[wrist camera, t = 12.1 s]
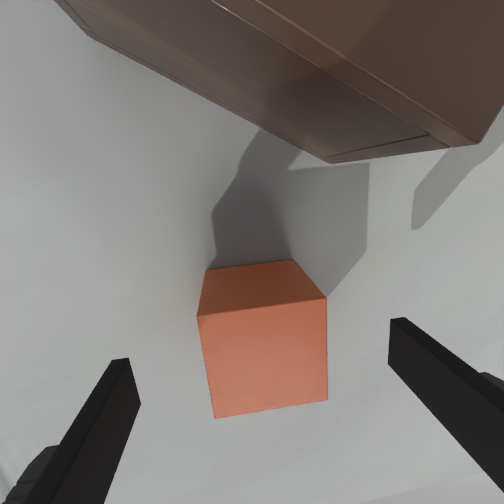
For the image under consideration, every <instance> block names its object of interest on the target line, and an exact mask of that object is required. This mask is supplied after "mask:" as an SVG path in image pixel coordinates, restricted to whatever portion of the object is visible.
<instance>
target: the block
mask: <svg viewBox="0 0 504 504" xmlns="http://www.w3.org/2000/svg"><path fill="white" fill-rule="evenodd" d="M197 321H198V327H199V332H200V338H201V344H202V350H203V355H204V361H205V367H206V372H207V378H208V384H209V390H210V395H211V401H212V407H213V413H214V418H215V419H217V418H223V417H229V416H235V415H241V414H247V413H253V412H259V411H265V410H270V409H276V408H282V407H288V406H294V405H300V404H306V403H312V402H318V401H324V400H328V378H327V298H326V297H325V296H324V294H323V293H322V292H321V291H320V290H319V289H318V287H317V286H316V285H315V284H314V283H313V282H312V281H311V279H310V278H309V277H308V276H307V275H306V274H305V272H304V271H303V270H302V269H301V268H300V267H299V266H298V264H297V263H296V262H295V261H294V260H293V259H291V260H283V261H274V262H266V263H258V264H250V265H242V266H234V267H226V268H218V269H210V270H206V271H205V276H204V281H203V286H202V292H201V297H200V302H199V307H198V312H197Z"/></svg>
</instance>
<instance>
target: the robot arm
mask: <svg viewBox="0 0 504 504" xmlns="http://www.w3.org/2000/svg"><path fill="white" fill-rule="evenodd" d="M388 365H389V366H390V367H391V368H392V369H393V370H394V371H395V372H396V374H397V375H398V376H399V377H400V378H401V379H402V380H403V381H404V382H405V384H406V385H407V386H408V387H409V388H410V389H411V390H412V391H413V392H414V394H415V395H416V396H417V397H418V398H419V399H420V400H421V401H422V402H423V404H424V405H425V406H426V407H427V408H428V409H429V410H430V411H431V412H432V414H433V415H434V416H435V417H436V418H437V419H438V420H439V421H440V422H441V424H442V425H443V426H444V427H445V428H446V429H447V430H448V431H449V432H450V434H451V435H452V436H453V437H454V438H455V439H456V440H457V441H458V442H459V444H460V445H461V446H462V447H463V448H464V449H465V450H466V451H467V452H468V454H469V455H470V456H471V457H472V458H473V459H474V460H475V461H476V462H477V464H478V465H479V466H480V467H481V468H482V469H483V470H484V471H485V472H486V473H487V475H488V476H489V477H490V478H491V479H492V480H493V481H494V482H495V484H496V485H497V486H498V487H499V488H500V489H501V490H502V491H503V493H504V381H503V380H501V379H499V378H497V377H495V376H493V375H491V374H489V373H487V372H482V373H479V372H477V371H476V370H475V369H473V368H472V367H471V366H469V365H468V364H467V363H465V362H464V361H463V360H461V359H460V358H459V357H457V356H456V355H455V354H453V353H452V352H451V351H449V350H448V349H447V348H445V347H444V346H443V345H441V344H440V343H439V342H437V341H436V340H435V339H433V338H432V337H431V336H429V335H428V334H427V333H425V332H424V331H423V330H421V329H420V328H419V327H417V326H416V325H415V324H413V323H412V322H411V321H409V320H408V319H407V318H405V317H401V318H394V319H391V321H390V337H389V354H388ZM140 405H141V402H140V398H139V394H138V391H137V387H136V383H135V379H134V376H133V372H132V368H131V365H130V361H129V358H122V359H116V360H112V361H111V362H110V364H109V366H108V367H107V369H106V370H105V372H104V374H103V375H102V377H101V378H100V380H99V382H98V383H97V385H96V386H95V388H94V390H93V391H92V393H91V394H90V396H89V398H88V399H87V401H86V402H85V404H84V406H83V407H82V409H81V410H80V412H79V414H78V415H77V417H76V418H75V420H74V422H73V423H72V425H71V426H70V428H69V430H68V431H67V433H66V434H65V436H64V438H63V439H62V441H61V442H60V444H59V445H55V446H49V447H46V448H45V449H44V450H43V451H42V452H41V453H40V454H39V455H38V456H37V457H36V458H35V459H34V460H33V461H32V462H31V463H30V464H29V465H28V467H27V468H26V470H25V471H24V472H23V474H22V475H21V477H20V478H19V480H18V481H17V484H16V486H14V487H13V488H12V490H11V491H10V493H9V494H8V496H7V497H6V501H5V502H3V503H2V504H104V502H105V499H106V496H107V494H108V491H109V488H110V486H111V483H112V480H113V478H114V475H115V472H116V470H117V467H118V464H119V461H120V459H121V456H122V453H123V451H124V448H125V445H126V443H127V440H128V437H129V435H130V432H131V429H132V427H133V424H134V421H135V418H136V416H137V413H138V410H139V408H140Z"/></svg>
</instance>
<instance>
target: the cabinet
mask: <svg viewBox="0 0 504 504" xmlns="http://www.w3.org/2000/svg"><path fill="white" fill-rule="evenodd" d="M54 1H55V2H56V3H57V4H58V5H59V6H60V7H61V8H62V9H63V10H64V11H65V12H66V13H67V14H68V15H69V16H70V18H71V19H72V20H73V21H74V22H75V23H76V24H77V25H78V26H79V27H80V28H81V29H82V30H83V31H84V32H85V33H86V34H87V35H88V36H89V37H91V38H93V39H95V40H97V41H99V42H101V43H103V44H105V45H106V46H108V47H110V48H112V49H114V50H116V51H118V52H120V53H122V54H123V55H125V56H127V57H129V58H131V59H133V60H135V61H137V62H139V63H140V64H142V65H144V66H146V67H148V68H150V69H152V70H154V71H156V72H157V73H159V74H161V75H163V76H165V77H167V78H169V79H171V80H173V81H174V82H176V83H178V84H180V85H182V86H184V87H186V88H188V89H190V90H191V91H193V92H195V93H197V94H199V95H201V96H203V97H205V98H207V99H208V100H210V101H212V102H214V103H216V104H218V105H220V106H222V107H224V108H225V109H227V110H229V111H231V112H233V113H235V114H237V115H239V116H240V117H242V118H244V119H246V120H248V121H250V122H252V123H254V124H256V125H257V126H259V127H261V128H263V129H265V130H267V131H269V132H271V133H273V134H274V135H276V136H278V137H280V138H282V139H284V140H286V141H288V142H290V143H291V144H293V145H295V146H297V147H299V148H301V149H303V150H305V151H307V152H308V153H310V154H312V155H314V156H316V157H318V158H320V159H322V160H324V161H325V162H327V163H329V164H336V163H344V162H351V161H358V160H366V159H373V158H380V157H388V156H395V155H402V154H409V153H417V152H424V151H431V150H439V149H446V148H450V147H460V146H468V145H475V144H479V143H480V142H481V141H482V139H483V138H484V136H485V135H486V133H487V131H488V130H489V128H490V126H491V125H492V123H493V122H494V120H495V118H496V117H497V115H498V113H499V112H500V110H501V109H502V107H503V105H504V0H54Z"/></svg>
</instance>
